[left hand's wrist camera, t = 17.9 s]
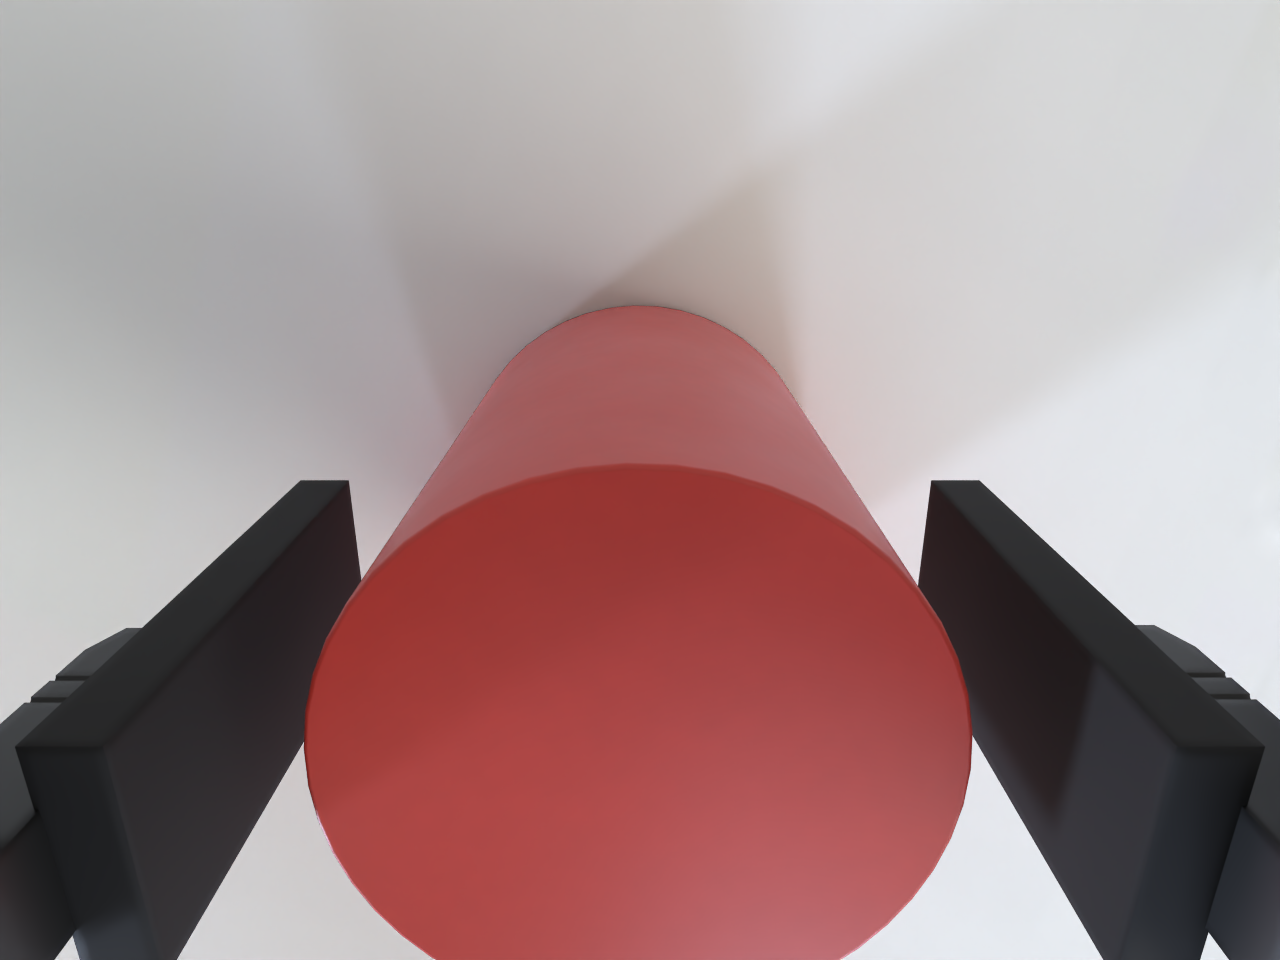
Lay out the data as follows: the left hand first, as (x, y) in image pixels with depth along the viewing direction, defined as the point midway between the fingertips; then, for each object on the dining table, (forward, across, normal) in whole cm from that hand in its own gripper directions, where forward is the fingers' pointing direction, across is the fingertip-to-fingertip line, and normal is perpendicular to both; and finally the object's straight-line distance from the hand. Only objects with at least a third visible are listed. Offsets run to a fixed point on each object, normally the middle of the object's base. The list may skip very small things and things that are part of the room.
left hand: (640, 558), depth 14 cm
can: (+4, 0, 0) cm, 4 cm away
